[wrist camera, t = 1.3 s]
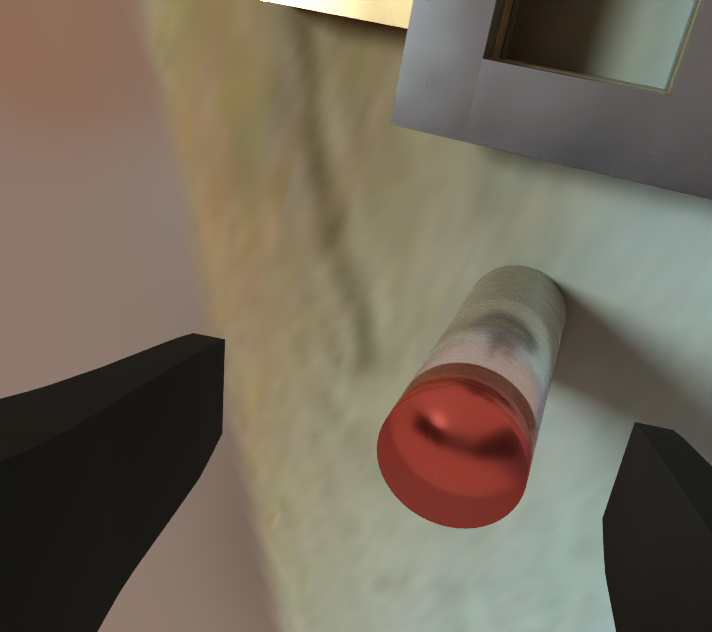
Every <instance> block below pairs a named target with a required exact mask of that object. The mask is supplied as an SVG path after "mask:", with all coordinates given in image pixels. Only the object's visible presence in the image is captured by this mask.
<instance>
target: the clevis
mask: <svg viewBox="0 0 712 632" xmlns="http://www.w3.org/2000/svg"><path fill="white" fill-rule="evenodd" d="M262 1H267V2H272V3H278V4H283V5H288V6H293V7H298V8H303V9H309V10H314V11H319V12H324V13H329V14H334V15H340V16H345V17H350V18H355V19H360V20H365V21H371V22H376V23H381V24H386V25H391V26H396V27H401V28H407V29H408V30H407V36H406V41H405V46H404V52H403V57H402V62H401V68H400V73H399V79H398V84H397V89H396V95H395V100H394V105H393V111H392V116H391V121H390V124H391V125H396V126H400V127H404V128H408V129H413V130H417V131H421V132H425V133H430V134H434V135H438V136H443V137H447V138H451V139H455V140H460V141H464V142H468V143H473V144H477V145H481V146H485V147H490V148H494V149H498V150H502V151H507V152H511V153H515V154H520V155H524V156H528V157H532V158H537V159H541V160H545V161H550V162H554V163H558V164H562V165H567V166H571V167H575V168H579V169H584V170H588V171H592V172H597V173H601V174H605V175H609V176H614V177H618V178H622V179H626V180H631V181H635V182H639V183H644V184H648V185H652V186H656V187H661V188H665V189H669V190H674V191H678V192H682V193H686V194H691V195H695V196H699V197H703V198H708V199H712V0H695V2H694V5H693V8H692V11H691V14H690V17H689V20H688V23H687V26H686V29H685V31H684V34H683V37H682V40H681V43H680V46H679V49H678V52H677V55H676V58H675V61H674V64H673V67H672V69H671V72H670V75H669V78H668V81H667V84H666V87H665V89H660V88H655V87H650V86H645V85H640V84H635V83H630V82H625V81H620V80H615V79H609V78H604V77H599V76H594V75H589V74H584V73H579V72H574V71H569V70H564V69H559V68H554V67H549V66H544V65H539V64H534V63H529V62H523V61H518V60H513V59H508V58H507V56H508V52H509V48H510V44H511V40H512V36H513V32H514V28H515V24H516V20H517V16H518V12H519V8H520V4H521V0H262Z"/></svg>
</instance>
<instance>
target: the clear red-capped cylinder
mask: <svg viewBox="0 0 712 632" xmlns="http://www.w3.org/2000/svg"><path fill="white" fill-rule="evenodd" d="M565 320H566V306H565V302H564V299H563V296H562V294H561V292H560V290H559V289H558V287H557V286H556V285H555V283H554V282H553V281H552V280H551V279H550V278H548V277H547V276H546V275H544V274H543V273H541V272H539V271H537V270H535V269H532V268H529V267H525V266H505V267H501V268H498V269H495V270H493V271H491V272H489V273H488V274H486V275H485V276H483V277H482V278H481V279H480V280H479V281H478V283H477V284H476V285H475V287H474V288H473V290H472V291H471V293H470V294H469V296H468V297H467V299H466V300H465V302H464V303H463V305H462V306H461V308H460V309H459V311H458V312H457V314H456V315H455V317H454V318H453V320H452V321H451V323H450V324H449V326H448V327H447V329H446V330H445V332H444V333H443V335H442V336H441V338H440V339H439V341H438V342H437V344H436V345H435V347H434V348H433V350H432V351H431V353H430V354H429V356H428V357H427V359H426V360H425V362H424V363H423V365H422V366H421V368H420V369H419V371H418V372H417V374H416V375H415V377H414V378H413V380H412V381H411V383H410V384H409V386H408V387H407V389H406V390H405V392H404V393H403V395H402V396H401V398H400V399H399V401H398V402H397V404H396V405H395V407H394V408H393V409H392V411H391V412H390V414H389V415H388V417H387V418H386V420H385V422H384V424H383V425H382V428H381V430H380V433H379V437H378V441H377V458H378V463H379V467H380V470H381V473H382V475H383V477H384V479H385V482H386V483H387V485H388V486H389V488H390V490H391V491H392V492H393V493H394V495H395V496H396V497H397V498H398V499H399V500H400V501H401V502H402V503H403V504H404V505H405V506H406V507H408V508H409V509H410V510H411V511H413V512H414V513H416V514H417V515H419V516H421V517H423V518H425V519H427V520H429V521H431V522H434V523H436V524H440V525H443V526H447V527H453V528H465V529H466V528H477V527H483V526H486V525H489V524H492V523H494V522H496V521H499V520H501V519H502V518H503V517H505V516H506V515H508V514H509V513H510V512H511V511H512V510H513V509H514V508H515V507H516V505H517V504H518V503H519V501H520V499H521V498H522V496H523V494H524V491H525V488H526V484H527V480H528V476H529V472H530V467H531V463H532V459H533V455H534V451H535V446H536V442H537V438H538V434H539V430H540V425H541V421H542V417H543V413H544V409H545V405H546V400H547V396H548V392H549V388H550V384H551V379H552V375H553V371H554V367H555V363H556V358H557V354H558V350H559V346H560V342H561V338H562V333H563V329H564V325H565Z"/></svg>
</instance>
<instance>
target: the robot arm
mask: <svg viewBox="0 0 712 632" xmlns="http://www.w3.org/2000/svg"><path fill="white" fill-rule="evenodd" d="M224 354H225V339H220V338H215V337H210V336H205V335H200V334H195V333H193V334H189V335H185V336H182V337H179V338H176V339H173V340H170V341H168V342H165V343H162V344H160V345H157V346H155V347H152V348H150V349H147V350H144V351H142V352H139V353H137V354H134V355H132V356H129V357H127V358H124V359H121V360H119V361H117V362H114V363H111V364H109V365H106V366H103V367H101V368H98V369H95V370H92V371H89V372H87V373H83V374H80V375H77V376H75V377H72V378H69V379H66V380H63V381H60V382H57V383H54V384H52V385H48V386H45V387H42V388H38V389H35V390H31V391H28V392H24V393H21V394H17V395H13V396H9V397H5V398H2V399H0V632H97V631H98V629H99V628H100V626H101V624H102V622H103V621H104V619H105V617H106V615H107V614H108V612H109V610H110V608H111V607H112V605H113V603H114V601H115V599H116V598H117V596H118V594H119V593H120V591H121V589H122V588H123V586H124V585H125V583H126V582H127V580H128V579H129V577H130V576H131V574H132V572H133V571H134V570H135V568H136V567H137V565H138V564H139V563H140V561H141V560H142V558H143V557H144V556H145V554H146V553H147V551H148V550H149V548H150V547H151V546H152V544H153V543H154V542H155V540H156V539H157V537H158V536H159V534H160V533H161V532H162V530H163V529H164V528H165V526H166V525H167V523H168V522H169V521H170V519H171V518H172V516H173V515H174V514H175V512H176V511H177V509H178V508H179V506H180V505H181V503H182V502H183V501H184V499H185V498H186V497H187V495H188V494H189V492H190V491H191V489H192V488H193V486H194V485H195V484H196V482H197V480H198V479H199V478H200V476H201V474H202V472H203V470H204V468H205V467H206V465H207V463H208V461H209V459H210V457H211V455H212V453H213V451H214V449H215V447H216V445H217V443H218V441H219V439H220V437H221V435H222V420H223V387H224ZM603 545H604V562H605V574H606V580H607V586H608V591H609V596H610V602H611V607H612V612H613V617H614V623H615V628H616V632H712V466H711V465H710V464H709V463H708V462H707V461H706V460H705V459H704V458H703V457H702V456H701V455H700V454H699V453H698V452H697V451H696V450H695V449H694V448H693V447H692V446H691V445H690V444H689V443H688V442H687V441H685V440H684V439H683V438H682V437H681V436H680V435H679V434H677V433H676V432H675V431H674V430H671V429H666V428H661V427H656V426H651V425H646V424H641V423H636V422H635V423H634V426H633V429H632V432H631V435H630V438H629V441H628V444H627V447H626V450H625V453H624V456H623V459H622V462H621V465H620V468H619V471H618V474H617V477H616V480H615V483H614V486H613V489H612V492H611V495H610V498H609V501H608V504H607V507H606V510H605V513H604V516H603Z"/></svg>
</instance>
